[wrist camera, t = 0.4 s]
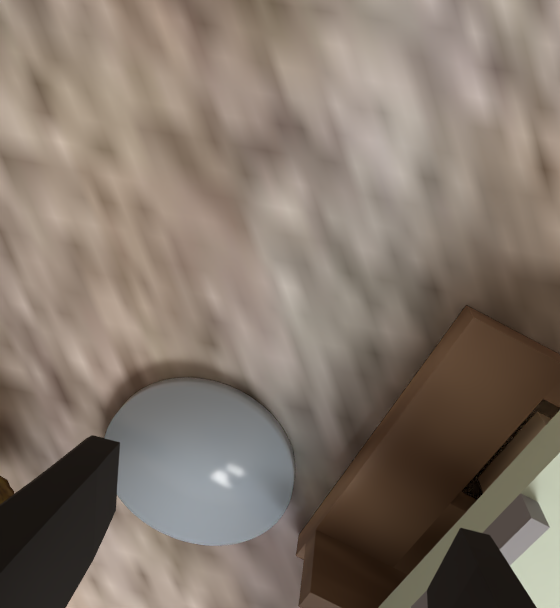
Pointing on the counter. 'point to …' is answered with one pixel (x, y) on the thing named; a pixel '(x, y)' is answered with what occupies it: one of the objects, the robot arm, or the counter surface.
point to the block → (513, 449)
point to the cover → (509, 526)
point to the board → (423, 462)
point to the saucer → (202, 461)
